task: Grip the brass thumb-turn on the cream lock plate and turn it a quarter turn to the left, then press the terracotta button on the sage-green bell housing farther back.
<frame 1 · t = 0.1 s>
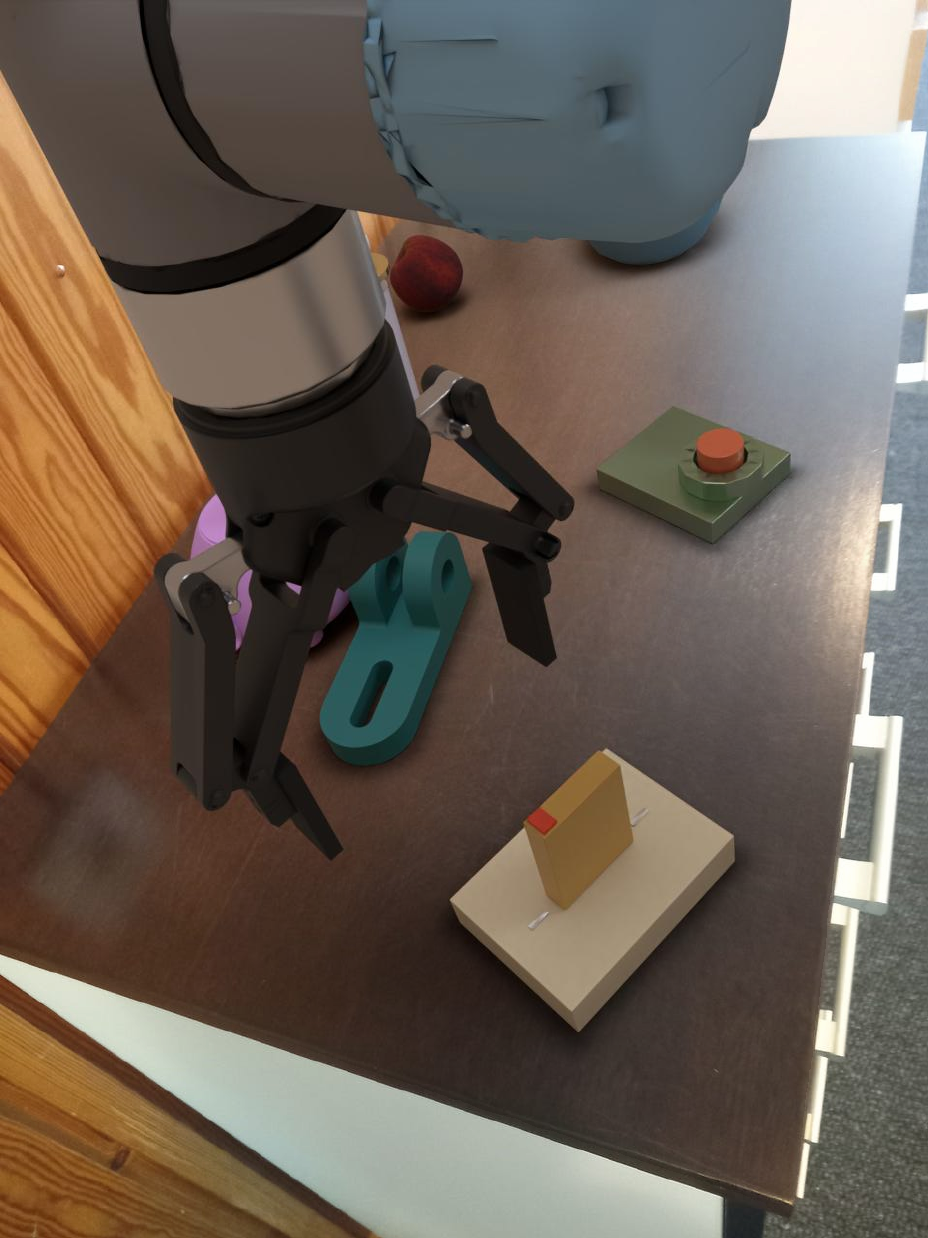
hand: (431, 739, 48), 20 cm above the table, tool pointing down, fingers open, 13 cm apart
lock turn: (581, 831, 58), point 7 cm above the table, hinge at 0.0°
apple: (436, 307, 114), on the table
lock plate: (596, 892, 63), on the table
bell button: (720, 451, 81), point 4 cm above the table, slide at 0.1 cm
perfume bottle: (403, 421, 101), on the table
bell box: (692, 481, 86), on the table
bracket: (399, 669, 79), on the table
teapot: (302, 597, 87), on the table
vase: (650, 243, 114), on the table
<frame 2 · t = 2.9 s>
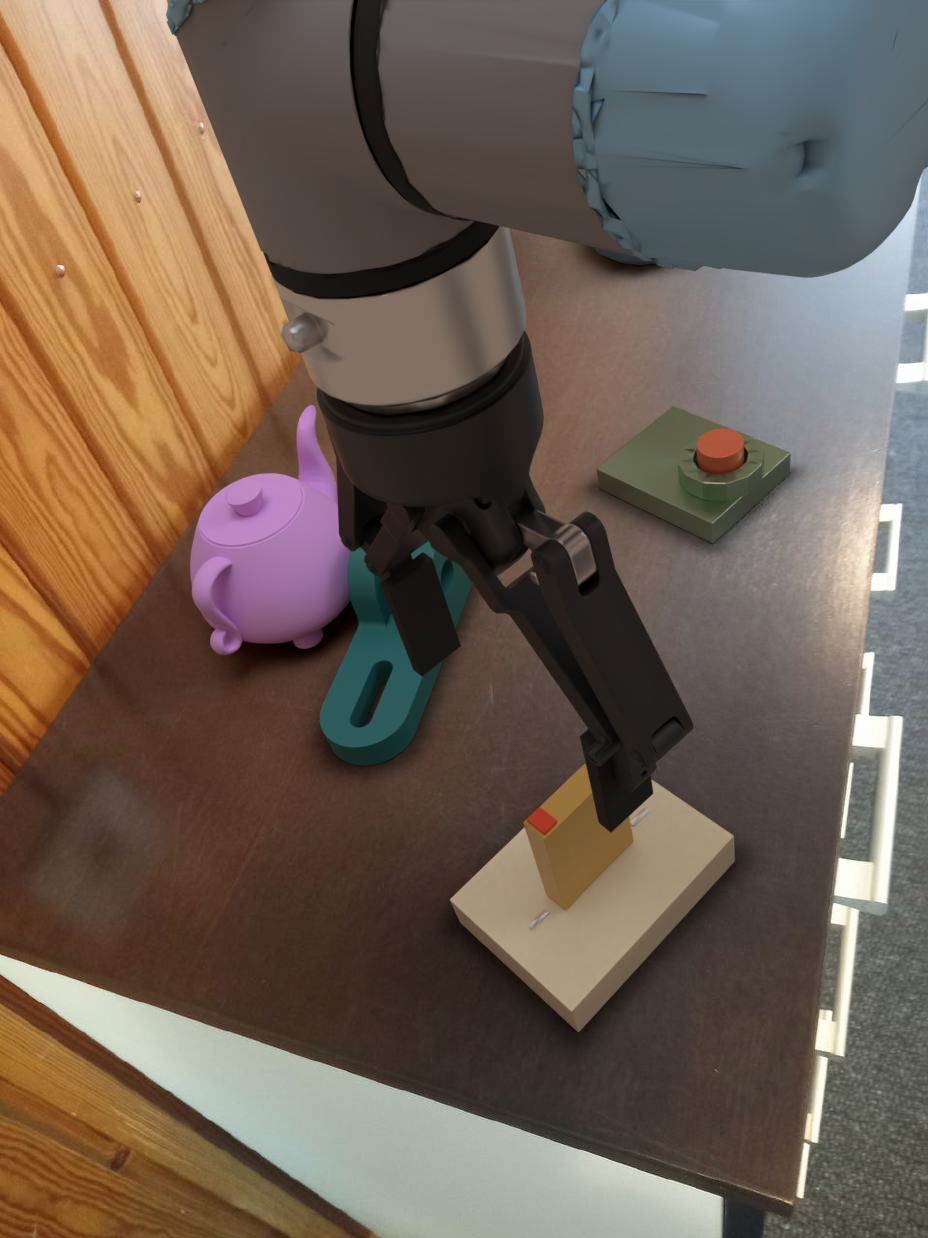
hand: (523, 727, 50), 18 cm above the table, tool pointing down, fingers open, 13 cm apart
nothing on the table moved.
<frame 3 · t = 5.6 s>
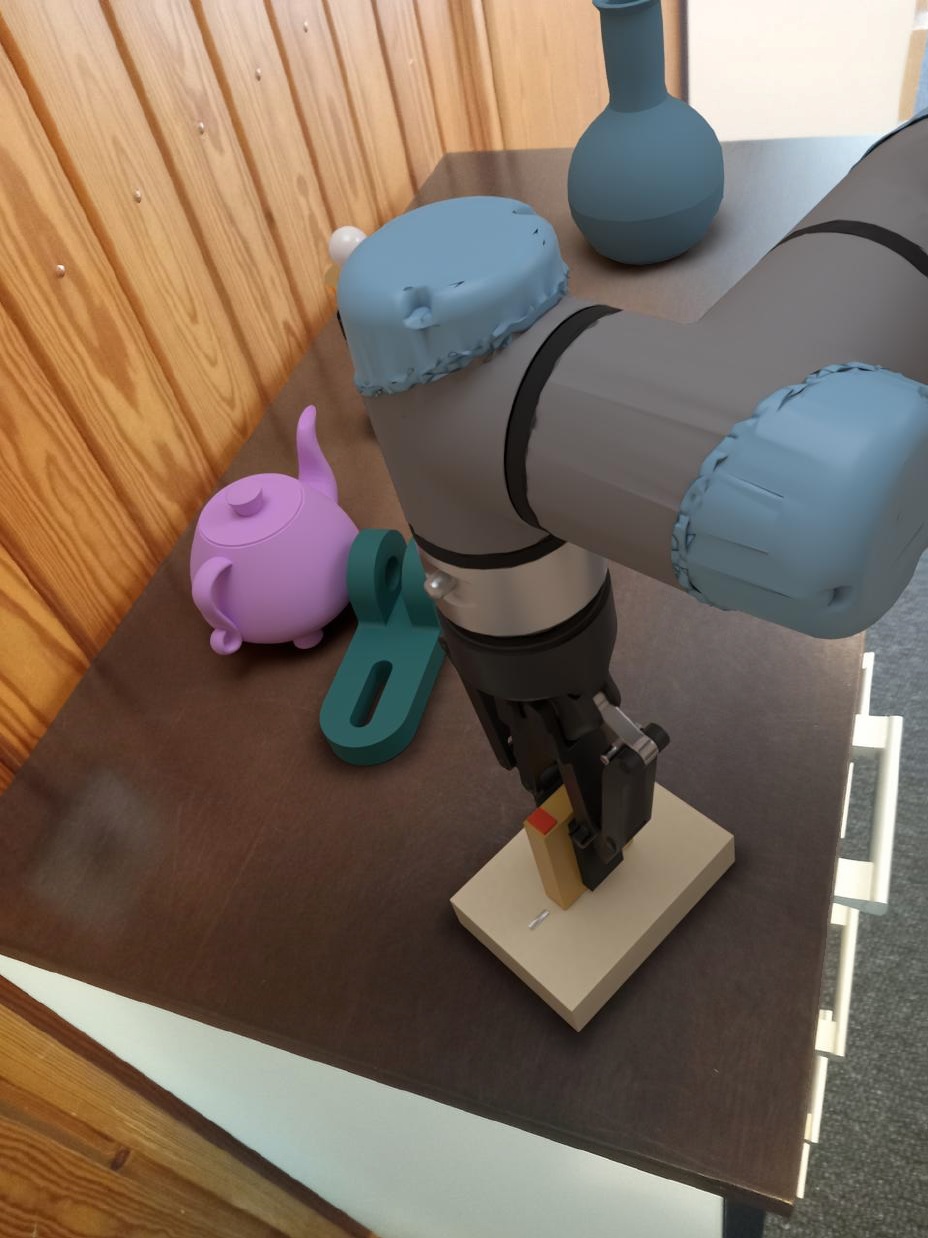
hand: (588, 859, 60), 4 cm above the table, tool pointing down, fingers closed on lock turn, 2 cm apart
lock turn: (581, 831, 58), point 7 cm above the table, hinge at 0.0°, touching gripper
everything else where it was.
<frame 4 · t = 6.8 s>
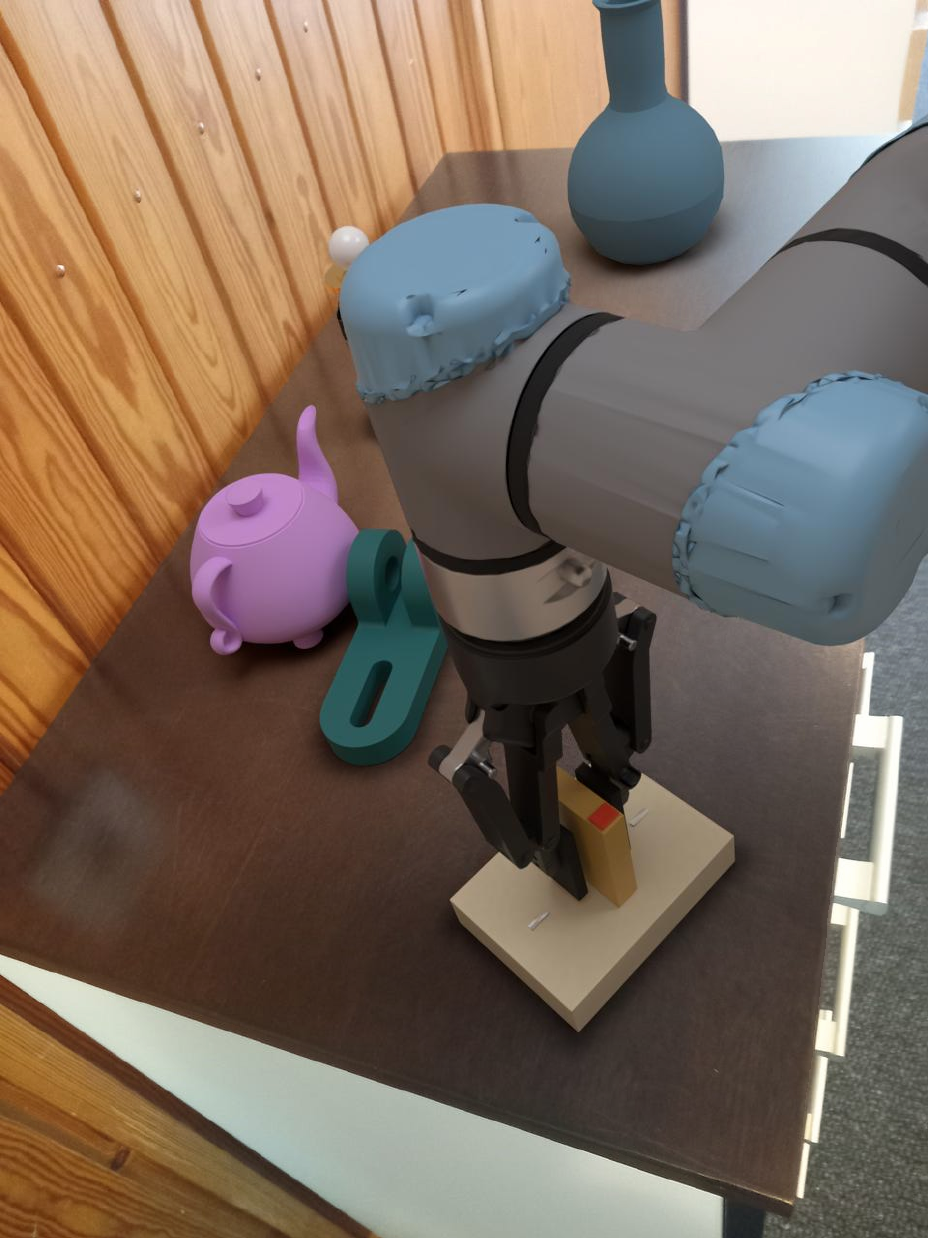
hand: (588, 861, 60), 4 cm above the table, tool pointing down, fingers open, 3 cm apart
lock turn: (581, 831, 58), point 7 cm above the table, hinge at 89.4°
everything else where it was.
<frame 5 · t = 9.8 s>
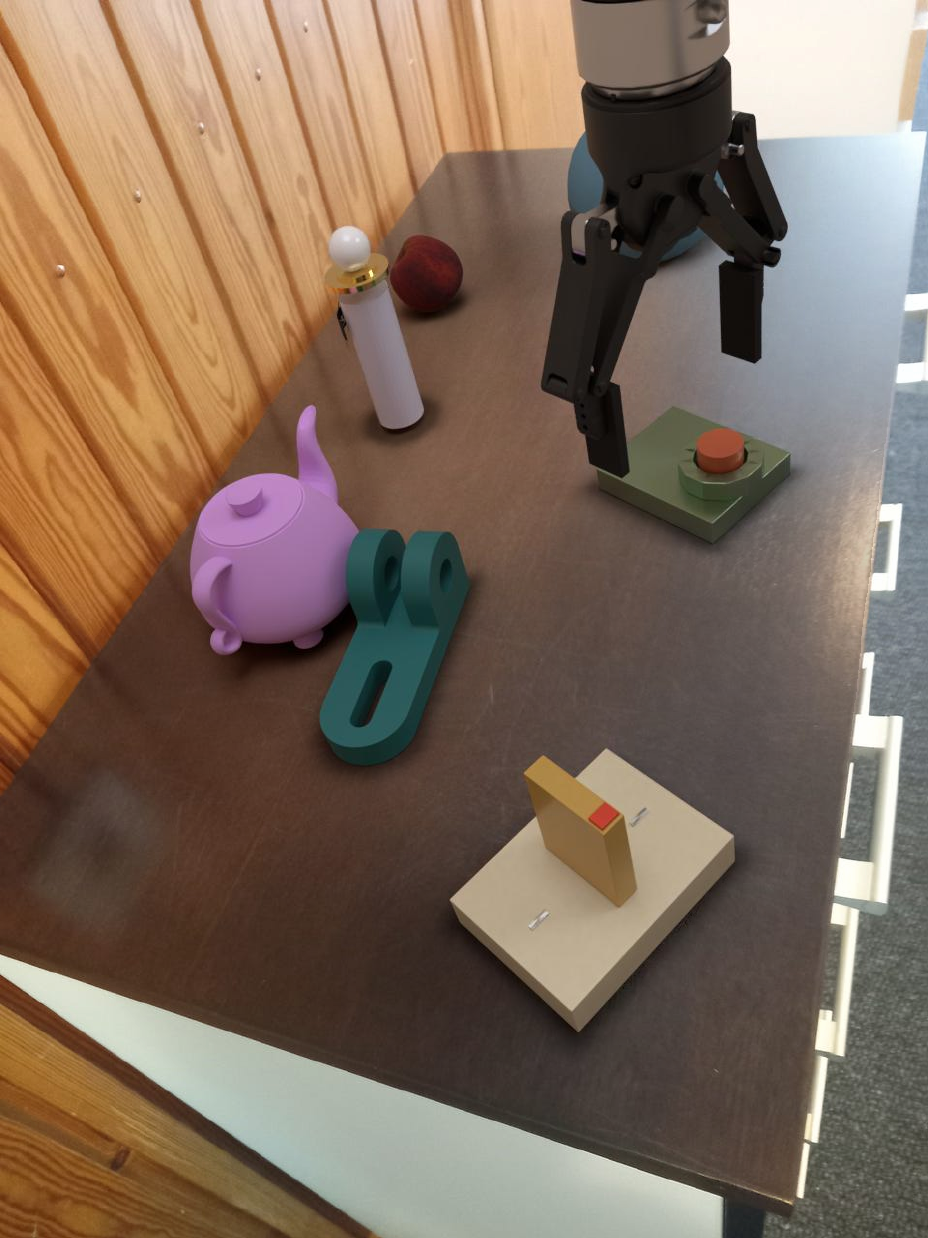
hand: (677, 409, 67), 16 cm above the table, tool pointing down, fingers open, 13 cm apart
nothing on the table moved.
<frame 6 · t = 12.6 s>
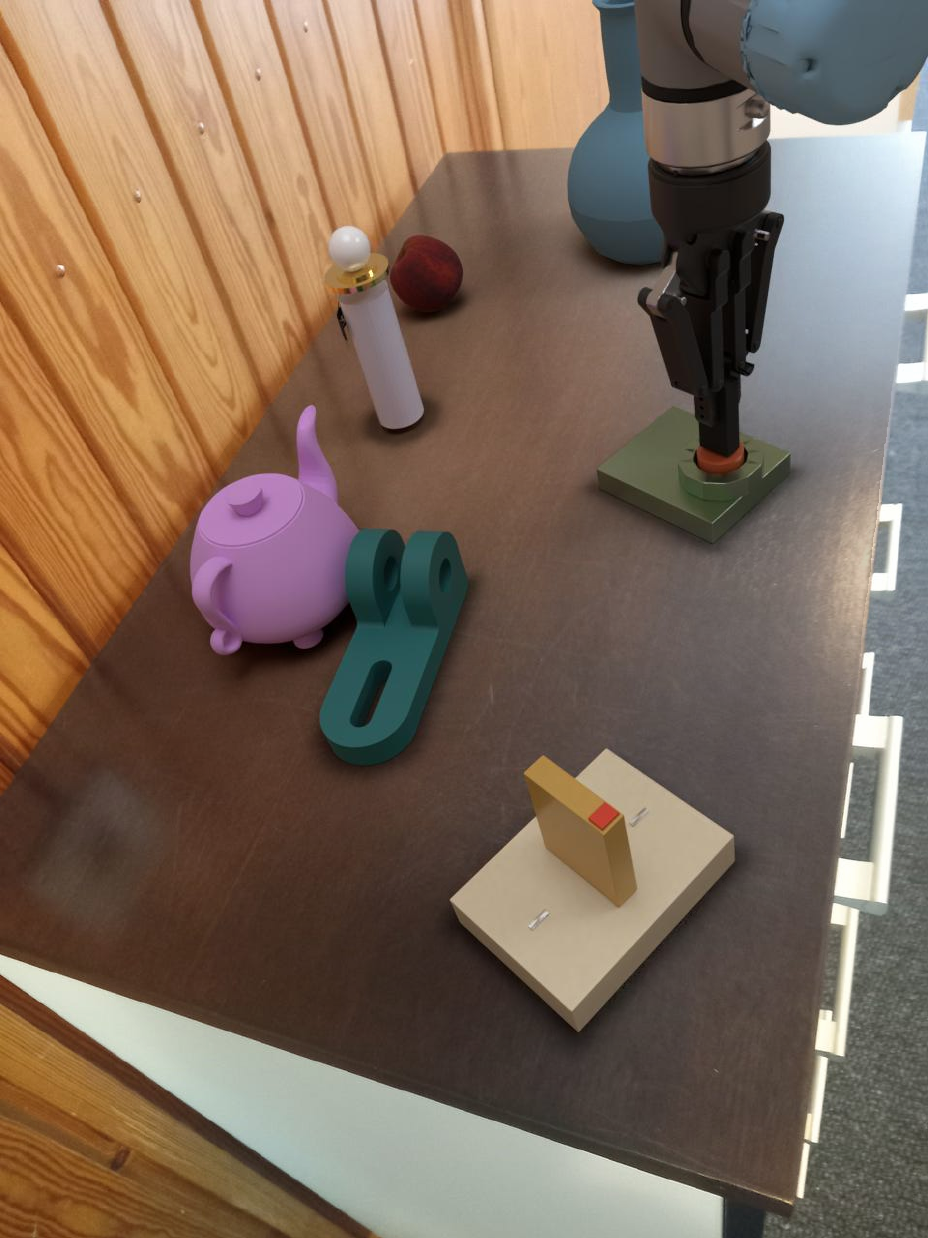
hand: (719, 446, 81), 5 cm above the table, tool pointing down, fingers closed
bell button: (720, 458, 82), point 4 cm above the table, slide at -0.6 cm, touching gripper
everything else where it was.
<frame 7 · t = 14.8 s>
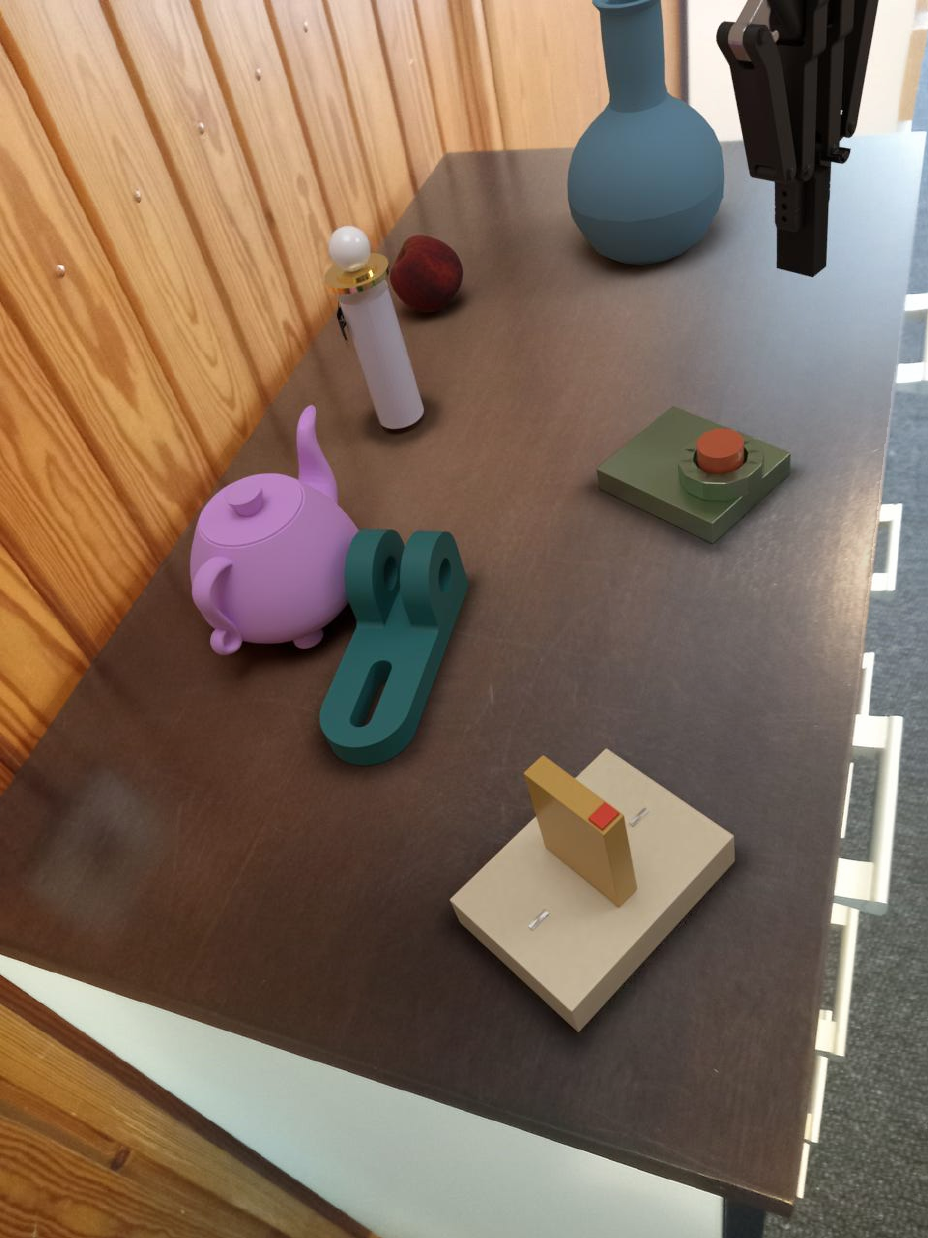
hand: (801, 266, 67), 21 cm above the table, tool pointing down, fingers closed
bell button: (720, 451, 81), point 4 cm above the table, slide at 0.1 cm
everything else where it was.
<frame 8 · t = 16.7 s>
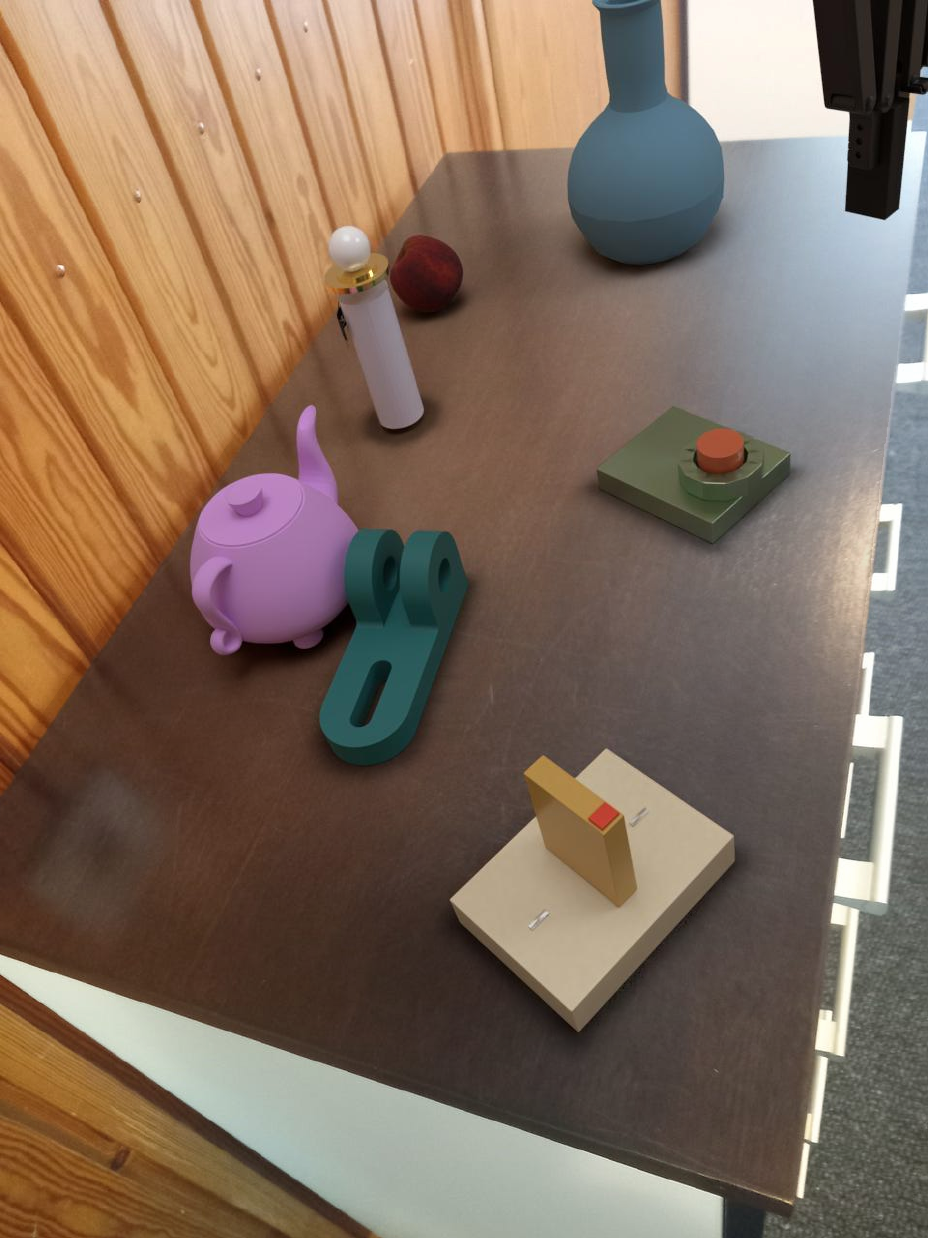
hand: (871, 209, 63), 24 cm above the table, tool pointing down, fingers closed
nothing on the table moved.
at the end: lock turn at +89° (first picture: +0°); bell button pushed in 1.0 cm at the most during the clip, back to where it started at the end; bell button slide at 0.1 cm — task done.
